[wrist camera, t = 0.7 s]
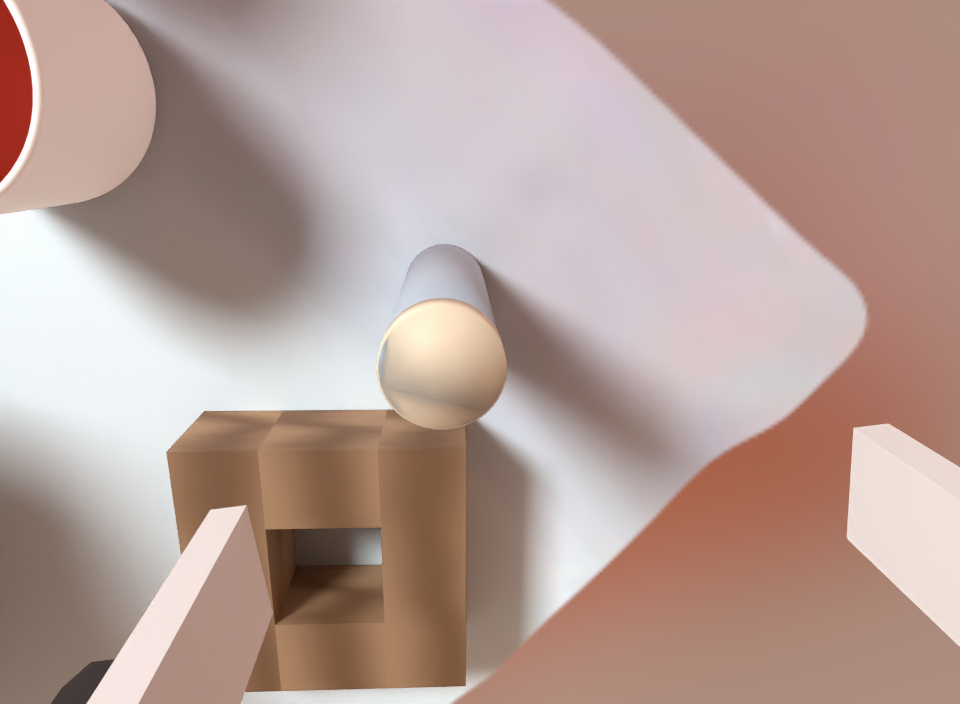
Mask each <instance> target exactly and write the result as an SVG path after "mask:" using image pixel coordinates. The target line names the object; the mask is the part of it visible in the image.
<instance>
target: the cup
mask: <svg viewBox="0 0 960 704" xmlns="http://www.w3.org/2000/svg"><path fill="white" fill-rule="evenodd" d="M155 118H156V96H155V88H154V82H153V78H152V75H151V71H150V68H149V65H148V62H147V59H146V57H145V55H144V52H143V50H142V48H141V46H140V44H139V43H138V41H137V39H136V37H135V36H134V34H133V33H132V31H131V30H130V28H129V27H128V25H127V24H126V23H125V22H124V20H123V19H122V18H121V16H120V15H119V14H118V13H117V12H116V11H115V10H114V9H113V8H112V7H111V6H110V5H109V4H108V3H107V2H106V1H105V0H0V214H5V213H12V212H19V211H26V210H32V209H39V208H46V207H53V206H60V205H66V204H73V203H78V202H83V201H87V200H90V199H93V198H96V197H98V196H101V195H103V194H105V193H107V192H109V191H111V190H112V189H114V188H115V187H117V186H118V185H119V184H121V183H122V182H123V181H124V180H125V179H127V178H128V177H129V176H130V175H131V173H132V172H133V171H134V170H135V169H136V167H137V166H138V165H139V163H140V162H141V160H142V158H143V157H144V155H145V153H146V151H147V149H148V147H149V144H150V141H151V138H152V134H153V131H154V125H155Z"/></svg>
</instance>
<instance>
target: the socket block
mask: <svg viewBox="0 0 960 704" xmlns="http://www.w3.org/2000/svg"><path fill="white" fill-rule="evenodd" d="M167 459H168V466H169V473H170V480H171V487H172V494H173V501H174V508H175V515H176V522H177V529H178V536H179V543H180V550H181V555H182V553H183V552H184V550H185V549H186V547H187V546H188V544H189V543H190V541H191V539H192V538H193V536H194V535H195V533H196V532H197V530H198V528H199V527H200V525H201V524H202V522H203V521H204V519H205V517H206V516H207V514H208V513H209V511H210V510H212V509H220V508H228V507H236V506H243V505H247V509H248V513H249V517H250V521H251V525H252V529H253V533H254V537H255V541H256V546H257V550H258V554H259V558H260V562H261V566H262V570H263V574H264V578H265V582H266V586H267V590H268V595H269V599H270V603H271V607H272V611H273V615H272V617H271V620H270V623H269V626H268V629H267V631H266V634H265V637H264V640H263V642H262V645H261V648H260V651H259V653H258V656H257V659H256V662H255V665H254V667H253V670H252V673H251V676H250V678H249V681H248V684H247V687H246V689H245V692H263V691H300V690H338V689H375V688H412V687H449V686H466V434H465V426H462V427H459V428H454V429H447V430H437V429H429V428H425V427H421V426H418V425H416V424H413V423H411V422H409V421H408V420H406V419H404V418H403V417H402V416H400V415H399V414H398V413H397V412H396V411H395V410H304V411H204V412H203V413H202V414H201V415H200V416H199V418H198V419H197V420H196V421H195V422H194V423H193V424H192V425H191V426H190V427H189V428H188V429H187V430H186V432H185V433H184V434H183V435H182V436H181V437H180V438H179V439H178V440H177V441H176V442H175V443H174V444H173V445H172V447H171V448H170V449H169V450H168V451H167ZM321 528H381V547H382V565H342V566H296V556H295V545H294V533H293V529H321Z"/></svg>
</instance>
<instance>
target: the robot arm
mask: <svg viewBox="0 0 960 704" xmlns="http://www.w3.org/2000/svg"><path fill="white" fill-rule="evenodd" d="M847 539H848V540H849V541H850V542H851V543H852V544H853V545H854V546H855V547H856V548H857V549H858V550H859V551H860V552H862V553H863V554H864V555H865V556H866V557H867V558H868V559H869V560H870V561H871V562H872V563H873V564H874V565H875V566H876V567H877V568H878V569H879V570H880V571H881V572H883V574H884V575H885V576H887V577H888V578H889V579H890V580H891V581H892V582H893V583H894V584H895V585H896V586H897V587H898V588H899V589H900V590H901V591H902V592H903V593H904V594H905V595H907V596H908V598H909V599H910V600H912V601H913V602H914V603H915V604H916V605H917V606H918V607H919V608H920V609H921V610H922V611H923V612H924V613H925V614H926V615H927V616H928V617H930V619H931V620H932V621H933V622H935V624H937V625H938V626H939V627H940V628H941V629H942V630H943V631H944V632H945V633H946V634H947V635H948V636H949V637H950V638H952V640H953V641H954V642H955V643H956V644H957V645H958V646H959V647H960V467H958V466H957V465H955V464H953V463H952V462H950V461H948V460H947V459H945V458H943V457H942V456H940V455H938V454H937V453H935V452H934V451H932V450H931V449H929V448H927V447H926V446H924V445H922V444H921V443H919V442H917V441H916V440H914V439H913V438H911V437H909V436H908V435H906V434H904V433H903V432H901V431H900V430H898V429H896V428H895V427H893V426H891V425H890V424H881V425H874V426H866V427H858V428H854V430H853V446H852V463H851V479H850V494H849V510H848V526H847ZM272 615H273V611H272V607H271V603H270V599H269V595H268V590H267V586H266V582H265V578H264V574H263V570H262V566H261V562H260V558H259V554H258V550H257V546H256V541H255V537H254V533H253V529H252V525H251V521H250V517H249V513H248V509H247V505H243V506H236V507H228V508H220V509H212V510H210V511H209V513H208V514H207V516H206V517H205V519H204V521H203V522H202V524H201V525H200V527H199V528H198V530H197V532H196V533H195V535H194V536H193V538H192V539H191V541H190V543H189V544H188V546H187V547H186V549H185V550H184V552H183V553H182V555H181V557H180V558H179V560H178V561H177V563H176V564H175V566H174V568H173V569H172V571H171V572H170V574H169V575H168V577H167V579H166V580H165V582H164V583H163V585H162V586H161V588H160V589H159V591H158V593H157V594H156V596H155V597H154V599H153V600H152V602H151V604H150V605H149V607H148V608H147V610H146V611H145V613H144V615H143V616H142V618H141V619H140V621H139V622H138V624H137V625H136V627H135V629H134V630H133V632H132V633H131V635H130V636H129V638H128V640H127V641H126V643H125V644H124V646H123V647H122V649H121V651H120V652H119V654H118V655H117V657H116V658H115V659H113V660H105V661H98V662H91V663H90V664H89V665H88V666H87V667H85V668H84V669H83V670H82V671H81V672H80V673H79V674H77V675H76V676H75V677H74V678H73V679H72V680H71V681H69V682H68V683H67V684H66V685H65V686H64V687H63V688H62V689H61V690H60V692H59V693H58V694H57V696H56V697H55V699H54V700H53V702H52V703H51V704H240V703H241V700H242V698H243V695H244V692H245V689H246V687H247V684H248V681H249V678H250V676H251V673H252V670H253V667H254V665H255V662H256V659H257V656H258V653H259V651H260V648H261V645H262V642H263V640H264V637H265V634H266V631H267V629H268V626H269V623H270V620H271V617H272Z"/></svg>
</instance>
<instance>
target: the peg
mask: <svg viewBox="0 0 960 704" xmlns="http://www.w3.org/2000/svg"><path fill="white" fill-rule="evenodd" d="M506 373H507V362H506V356H505V352H504V348H503V344H502V341H501V338H500V335H499V333H498V331H497V327H496V323H495V320H494V316H493V312H492V308H491V304H490V300H489V297H488V293H487V289H486V285H485V281H484V278H483V274H482V271H481V268H480V266H479V264H478V262H477V261H476V259H475V258H474V257H473V256H472V255H471V254H470V253H469V252H467V251H466V250H464V249H462V248H460V247H457V246H454V245H447V244H443V245H435V246H432V247H429V248H427V249H425V250H424V251H422V252H421V253H420V254H418V255H417V256H416V258H415V259H414V260H413V261H412V263H411V265H410V267H409V269H408V272H407V275H406V278H405V281H404V284H403V287H402V290H401V293H400V296H399V299H398V302H397V305H396V307H395V310H394V313H393V316H392V319H391V322H390V325H389V327H388V329H387V331H386V333H385V335H384V338H383V341H382V344H381V347H380V350H379V353H378V358H377V379H378V383H379V386H380V389H381V391H382V394H383V396H384V397H385V399H386V401H387V402H388V403H389V405H390V406H391V407H392V408H393V409H394V410H395V411H396V412H397V413H398V414H399V415H400V416H402V417H403V418H404V419H406V420H408V421H409V422H411V423H413V424H416V425H418V426H421V427H425V428H429V429H437V430H447V429H454V428H459V427H462V426H466V425H468V424H470V423H472V422H474V421H476V420H478V419H479V418H481V417H482V416H483V415H485V414H486V413H487V412H488V411H489V410H490V409H491V408H492V407H493V406H494V404H495V403H496V401H497V400H498V398H499V396H500V395H501V393H502V390H503V387H504V385H505V380H506Z"/></svg>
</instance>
